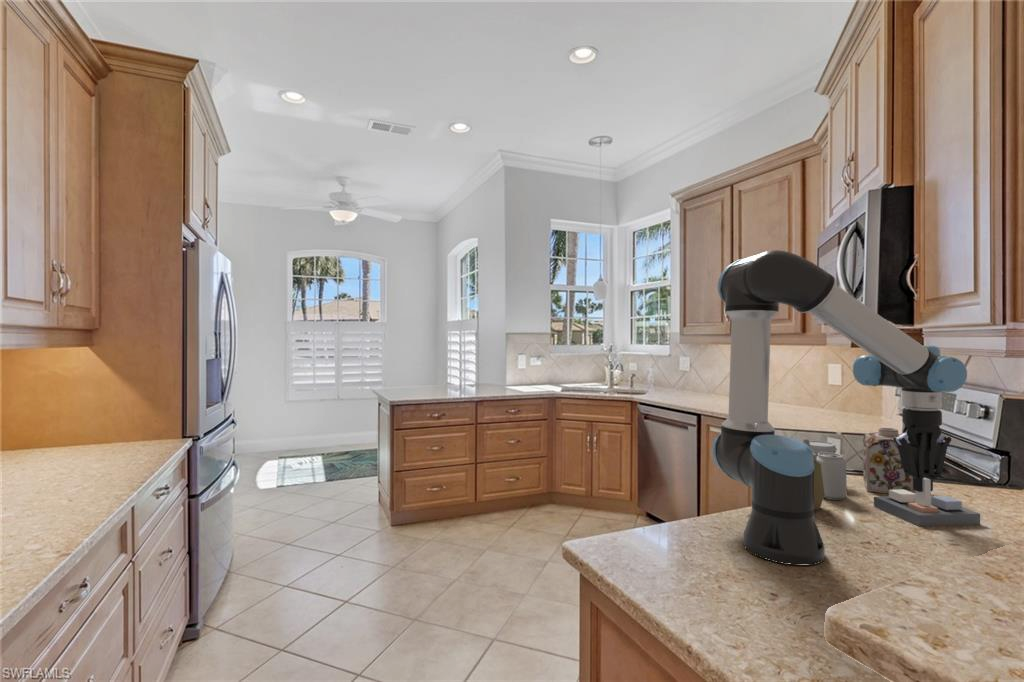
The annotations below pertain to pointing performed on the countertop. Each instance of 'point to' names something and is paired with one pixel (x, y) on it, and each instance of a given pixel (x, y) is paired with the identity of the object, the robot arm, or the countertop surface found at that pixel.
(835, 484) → the can
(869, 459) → the decorative jar
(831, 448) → the disposable coffee cup
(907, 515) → the keypad
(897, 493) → the cream key
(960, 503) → the slate key
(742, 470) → the robot arm
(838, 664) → the countertop surface
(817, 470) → the squeeze bottle
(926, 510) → the terracotta key
